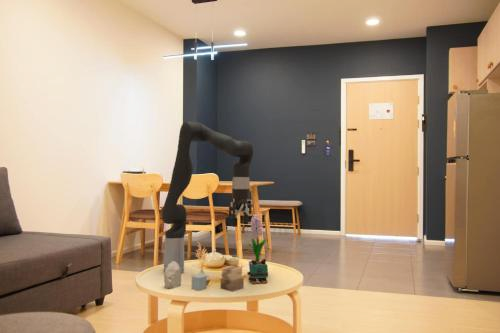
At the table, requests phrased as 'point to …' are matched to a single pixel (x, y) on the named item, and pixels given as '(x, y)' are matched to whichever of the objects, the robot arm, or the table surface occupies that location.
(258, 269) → the green toy vehicle
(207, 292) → the table surface
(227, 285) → the walnut base
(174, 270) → the stone
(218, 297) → the table surface
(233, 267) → the beech block
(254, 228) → the hyacinth
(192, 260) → the table surface
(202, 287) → the slate block
